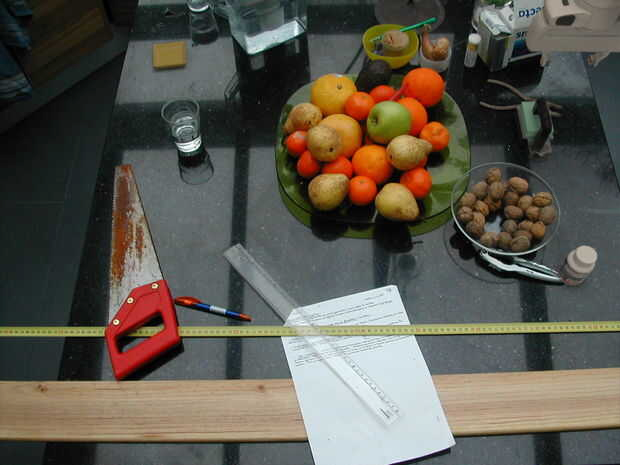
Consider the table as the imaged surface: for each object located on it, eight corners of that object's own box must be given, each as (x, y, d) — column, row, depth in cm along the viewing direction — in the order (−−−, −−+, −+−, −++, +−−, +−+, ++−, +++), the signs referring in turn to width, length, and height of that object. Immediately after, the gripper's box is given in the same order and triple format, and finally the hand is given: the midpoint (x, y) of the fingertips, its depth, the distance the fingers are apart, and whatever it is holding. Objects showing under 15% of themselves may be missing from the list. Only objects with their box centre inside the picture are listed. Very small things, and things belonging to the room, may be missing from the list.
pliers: (481, 77, 145) (562, 87, 142) (480, 80, 146) (560, 89, 143) (479, 105, 140) (563, 116, 138) (479, 108, 141) (561, 118, 138)
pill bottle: (570, 258, 119) (586, 237, 111) (588, 277, 117) (607, 257, 109) (551, 271, 118) (567, 250, 110) (570, 290, 115) (587, 270, 108)
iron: (513, 114, 139) (525, 86, 131) (542, 114, 139) (555, 86, 131) (522, 163, 132) (535, 137, 124) (553, 164, 132) (568, 138, 123)
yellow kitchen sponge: (186, 46, 155) (185, 40, 153) (187, 68, 150) (186, 62, 149) (155, 50, 154) (153, 44, 152) (155, 72, 150) (153, 66, 148)
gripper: (648, -4, 105) (615, 54, 117) (537, -5, 106) (515, 53, 118) (657, 18, 102) (622, 76, 114) (542, 18, 103) (520, 75, 115)
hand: (567, 64), depth 116 cm, fingers open, 8 cm apart
